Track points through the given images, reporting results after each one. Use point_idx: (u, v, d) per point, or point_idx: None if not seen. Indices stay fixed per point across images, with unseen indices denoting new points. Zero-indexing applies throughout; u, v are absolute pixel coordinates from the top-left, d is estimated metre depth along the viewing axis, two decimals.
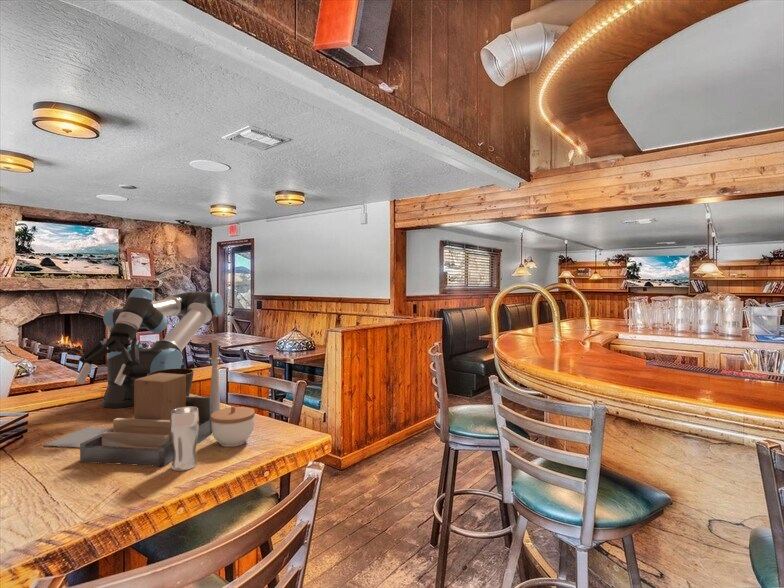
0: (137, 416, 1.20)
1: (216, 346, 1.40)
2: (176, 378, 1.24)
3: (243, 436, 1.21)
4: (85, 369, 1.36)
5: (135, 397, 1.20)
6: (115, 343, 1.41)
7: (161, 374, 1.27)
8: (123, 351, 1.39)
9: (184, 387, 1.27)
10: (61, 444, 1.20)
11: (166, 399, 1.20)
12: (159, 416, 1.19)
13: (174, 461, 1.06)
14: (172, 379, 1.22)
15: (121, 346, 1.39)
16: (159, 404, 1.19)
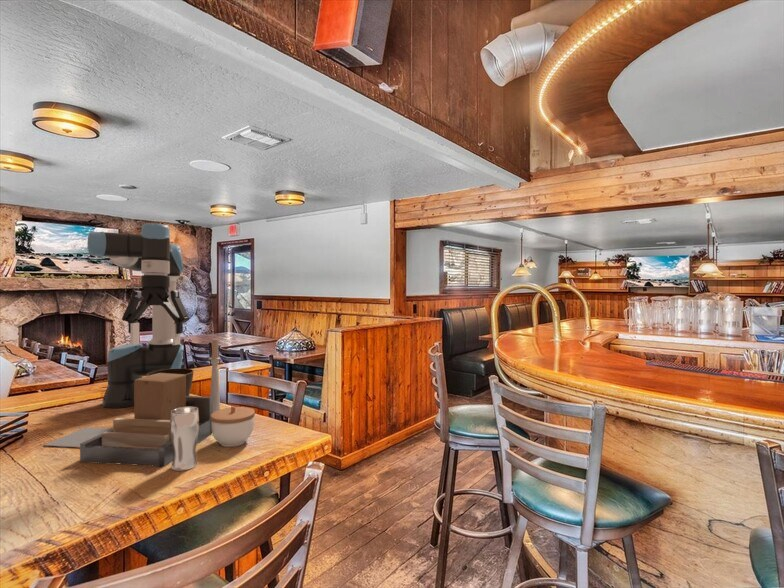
0: (137, 416, 1.20)
1: (216, 346, 1.40)
2: (176, 378, 1.24)
3: (243, 436, 1.21)
4: (134, 330, 1.24)
5: (135, 397, 1.20)
6: (153, 298, 1.23)
7: (161, 374, 1.27)
8: (166, 308, 1.22)
9: (184, 387, 1.27)
10: (61, 444, 1.20)
11: (166, 399, 1.20)
12: (159, 416, 1.19)
13: (174, 461, 1.06)
14: (172, 379, 1.22)
15: (161, 302, 1.22)
16: (159, 404, 1.19)
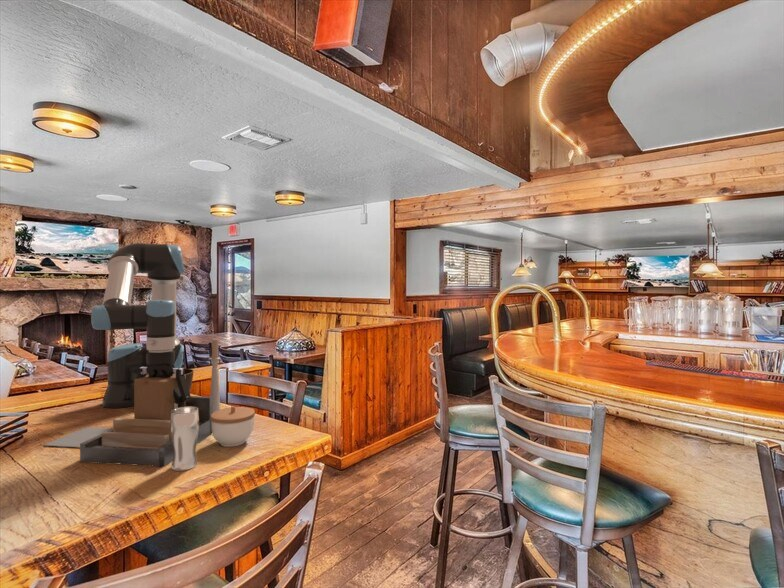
0: (137, 416, 1.20)
1: (216, 346, 1.40)
2: None
3: (243, 436, 1.21)
4: None
5: (135, 397, 1.20)
6: (158, 374, 1.23)
7: None
8: None
9: None
10: (61, 444, 1.20)
11: (166, 399, 1.20)
12: (159, 416, 1.19)
13: (174, 461, 1.06)
14: (172, 379, 1.22)
15: None
16: (159, 403, 1.19)
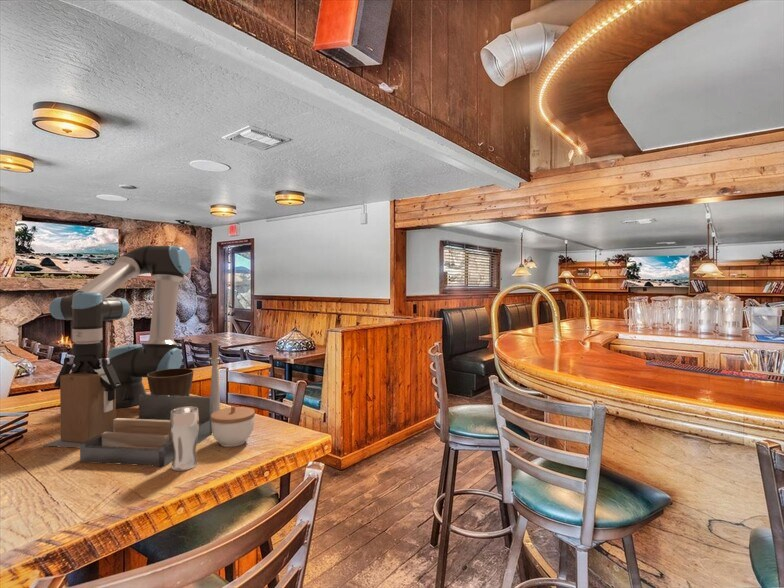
0: (63, 411, 1.22)
1: (216, 346, 1.40)
2: (103, 374, 1.26)
3: (243, 436, 1.21)
4: None
5: (61, 393, 1.22)
6: (84, 365, 1.25)
7: None
8: None
9: None
10: (61, 444, 1.20)
11: (92, 394, 1.22)
12: (84, 411, 1.21)
13: (174, 461, 1.06)
14: (99, 375, 1.24)
15: (92, 370, 1.24)
16: (84, 399, 1.21)
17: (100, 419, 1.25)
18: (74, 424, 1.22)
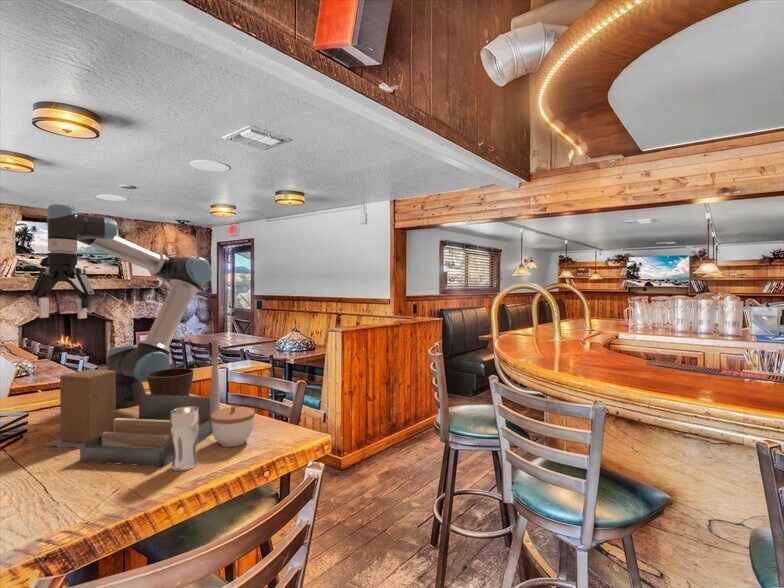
0: (63, 411, 1.22)
1: (216, 346, 1.40)
2: (103, 374, 1.26)
3: (243, 436, 1.21)
4: (43, 304, 1.33)
5: (61, 393, 1.22)
6: (59, 274, 1.32)
7: (90, 370, 1.29)
8: (72, 284, 1.31)
9: (113, 383, 1.29)
10: (61, 444, 1.20)
11: (92, 394, 1.22)
12: (84, 411, 1.21)
13: (174, 461, 1.06)
14: (99, 375, 1.24)
15: (67, 279, 1.31)
16: (84, 399, 1.21)
17: (99, 419, 1.25)
18: (74, 424, 1.22)
